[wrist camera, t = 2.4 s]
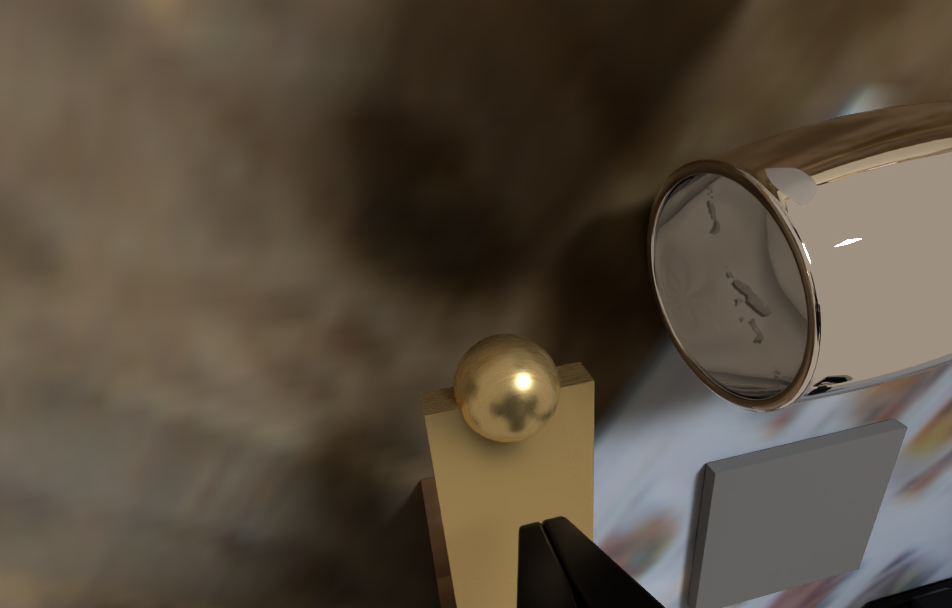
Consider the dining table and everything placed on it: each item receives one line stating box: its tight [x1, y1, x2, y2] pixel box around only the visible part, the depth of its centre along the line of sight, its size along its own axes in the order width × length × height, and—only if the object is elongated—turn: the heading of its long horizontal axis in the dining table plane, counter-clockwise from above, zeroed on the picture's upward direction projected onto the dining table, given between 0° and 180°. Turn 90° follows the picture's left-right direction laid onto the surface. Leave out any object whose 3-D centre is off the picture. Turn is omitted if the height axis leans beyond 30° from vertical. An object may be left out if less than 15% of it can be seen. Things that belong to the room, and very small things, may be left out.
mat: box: [688, 419, 907, 608], centre depth 24 cm, size 9×9×1 cm
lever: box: [420, 334, 595, 608], centre depth 11 cm, size 9×4×2 cm, turn 6°
